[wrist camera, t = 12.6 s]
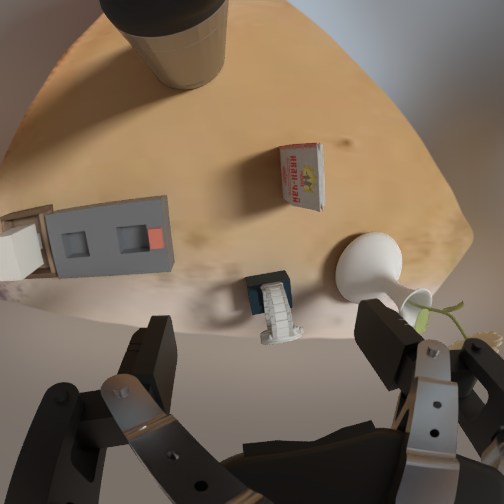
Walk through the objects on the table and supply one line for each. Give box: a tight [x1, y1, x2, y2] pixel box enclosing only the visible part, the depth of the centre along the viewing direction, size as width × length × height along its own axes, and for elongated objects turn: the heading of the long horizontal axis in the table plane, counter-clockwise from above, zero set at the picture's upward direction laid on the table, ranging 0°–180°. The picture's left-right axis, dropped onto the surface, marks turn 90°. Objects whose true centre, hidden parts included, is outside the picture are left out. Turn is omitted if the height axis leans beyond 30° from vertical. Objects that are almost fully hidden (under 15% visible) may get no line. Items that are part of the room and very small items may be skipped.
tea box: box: [279, 143, 325, 212], centre depth 31 cm, size 4×7×10 cm, turn 5°
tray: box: [0, 204, 58, 279], centre depth 33 cm, size 10×9×3 cm
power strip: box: [45, 195, 175, 278], centre depth 33 cm, size 9×17×4 cm, turn 92°
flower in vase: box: [336, 232, 502, 353], centre depth 29 cm, size 13×11×25 cm
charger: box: [0, 224, 44, 281], centre depth 30 cm, size 6×5×8 cm
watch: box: [246, 270, 304, 345], centre depth 35 cm, size 6×8×11 cm
